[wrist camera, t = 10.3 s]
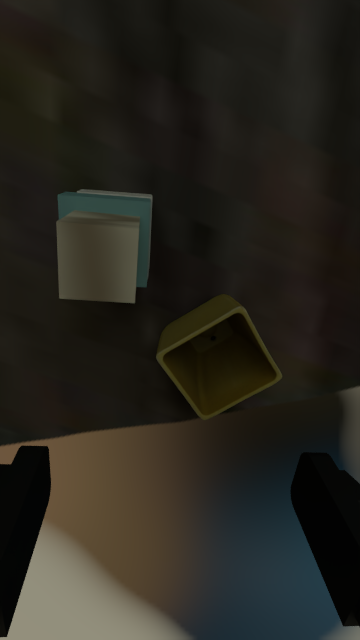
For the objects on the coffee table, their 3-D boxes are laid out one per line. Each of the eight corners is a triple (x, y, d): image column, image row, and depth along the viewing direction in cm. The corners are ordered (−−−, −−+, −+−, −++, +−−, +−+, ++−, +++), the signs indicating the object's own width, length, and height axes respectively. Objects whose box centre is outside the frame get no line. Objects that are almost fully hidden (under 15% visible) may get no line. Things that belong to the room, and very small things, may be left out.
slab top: (149, 198, 27) (150, 202, 24) (146, 276, 30) (146, 287, 27) (66, 191, 26) (57, 194, 24) (70, 272, 29) (62, 283, 26)
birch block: (140, 216, 25) (138, 229, 20) (136, 277, 27) (134, 303, 22) (74, 210, 24) (56, 221, 19) (75, 273, 26) (59, 298, 21)
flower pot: (151, 315, 38) (153, 356, 29) (220, 273, 36) (242, 305, 28) (191, 371, 41) (203, 422, 33) (255, 335, 40) (284, 379, 32)
